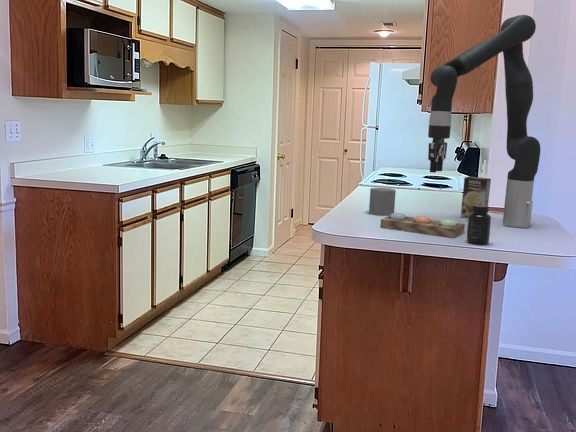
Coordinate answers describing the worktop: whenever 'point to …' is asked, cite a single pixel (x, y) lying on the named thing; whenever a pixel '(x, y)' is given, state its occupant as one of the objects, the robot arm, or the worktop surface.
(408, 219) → the button panel
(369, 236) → the worktop surface
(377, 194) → the coffee mug
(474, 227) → the supplement bottle
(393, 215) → the slate button
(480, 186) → the coffee box
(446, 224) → the sage button
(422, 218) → the terracotta button
